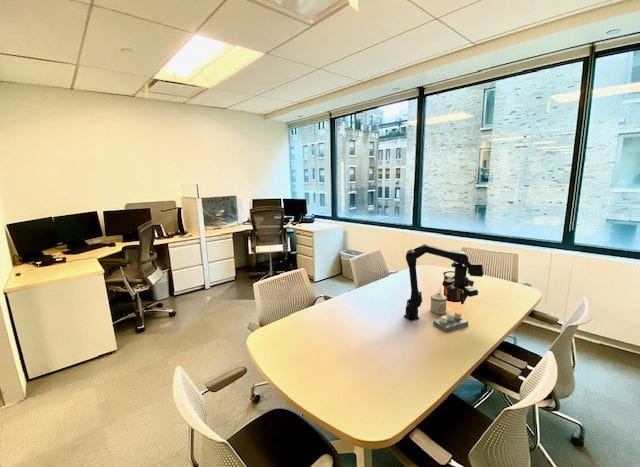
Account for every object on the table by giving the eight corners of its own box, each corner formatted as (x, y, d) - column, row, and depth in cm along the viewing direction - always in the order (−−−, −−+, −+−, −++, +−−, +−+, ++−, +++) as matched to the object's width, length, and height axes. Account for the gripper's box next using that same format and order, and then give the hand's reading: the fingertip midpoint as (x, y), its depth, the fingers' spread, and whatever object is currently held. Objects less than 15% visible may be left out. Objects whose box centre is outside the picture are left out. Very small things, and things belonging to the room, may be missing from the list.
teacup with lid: (441, 316, 171) (442, 297, 169) (426, 310, 178) (427, 292, 176) (451, 309, 178) (452, 291, 176) (437, 305, 185) (438, 287, 183)
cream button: (443, 325, 156) (444, 319, 156) (439, 322, 159) (439, 316, 158) (448, 324, 157) (448, 317, 157) (443, 321, 160) (443, 315, 160)
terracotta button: (457, 321, 160) (458, 315, 159) (452, 318, 163) (453, 312, 162) (462, 320, 161) (462, 314, 161) (457, 317, 164) (457, 311, 163)
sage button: (450, 323, 158) (451, 317, 157) (446, 320, 161) (446, 314, 160) (455, 322, 159) (455, 316, 159) (450, 319, 162) (450, 313, 162)
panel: (445, 332, 153) (446, 327, 153) (432, 324, 162) (433, 320, 161) (468, 325, 160) (468, 321, 159) (454, 318, 168) (454, 314, 167)
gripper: (486, 277, 152) (484, 306, 155) (457, 268, 169) (455, 293, 172) (471, 281, 148) (469, 310, 151) (442, 271, 165) (441, 297, 167)
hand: (458, 302), depth 160 cm, fingers open, 5 cm apart
